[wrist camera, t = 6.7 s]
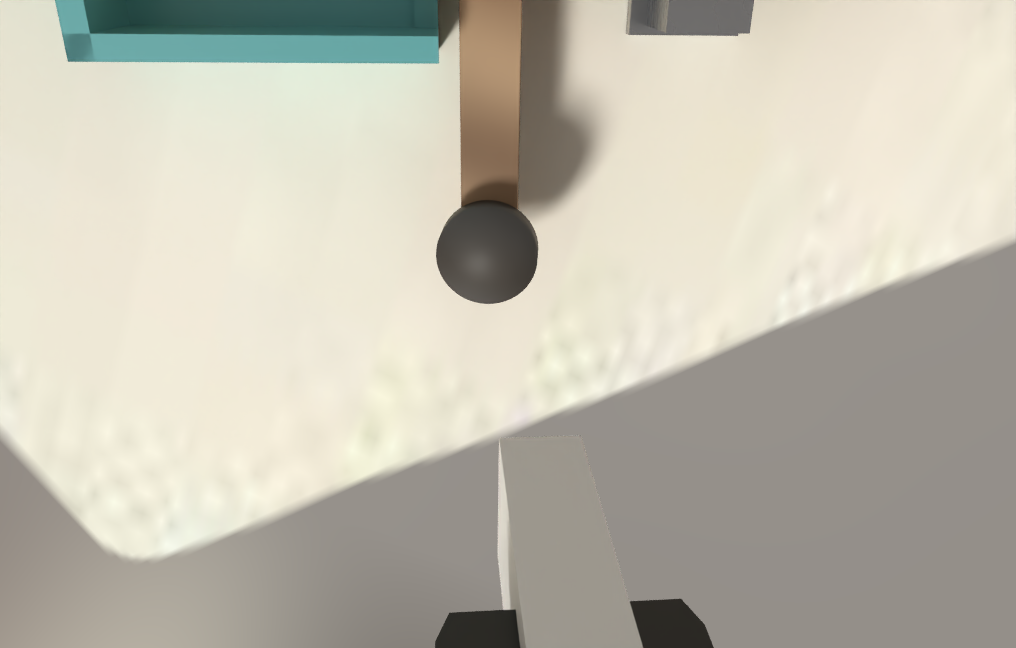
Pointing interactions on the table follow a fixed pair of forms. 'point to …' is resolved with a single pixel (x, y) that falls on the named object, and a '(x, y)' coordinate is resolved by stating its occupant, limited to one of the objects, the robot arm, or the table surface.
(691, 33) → the stand
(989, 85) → the table surface
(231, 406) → the table surface
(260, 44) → the tray
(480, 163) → the lever
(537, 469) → the robot arm
